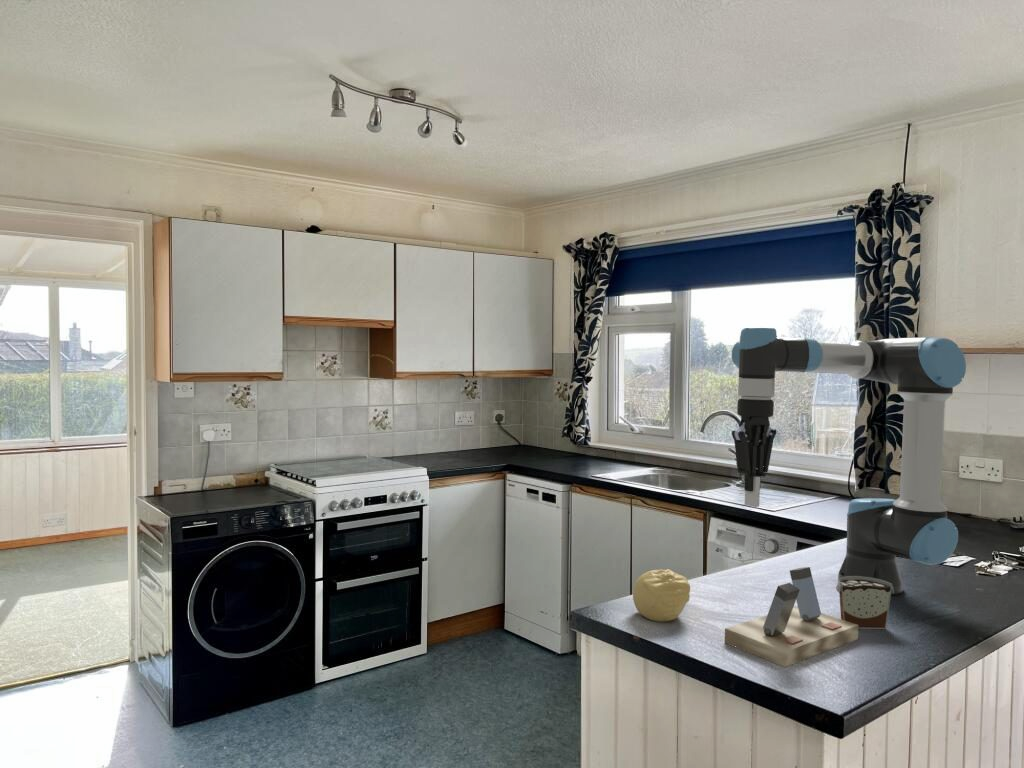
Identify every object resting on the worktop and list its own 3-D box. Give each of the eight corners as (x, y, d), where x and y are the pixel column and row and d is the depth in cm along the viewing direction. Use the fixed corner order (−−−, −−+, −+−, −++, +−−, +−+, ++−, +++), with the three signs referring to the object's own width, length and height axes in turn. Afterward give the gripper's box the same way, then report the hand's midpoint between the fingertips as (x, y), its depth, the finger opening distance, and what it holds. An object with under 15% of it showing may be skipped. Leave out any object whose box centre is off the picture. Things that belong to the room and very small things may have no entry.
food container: (877, 619, 167) (879, 575, 167) (892, 629, 161) (894, 584, 160) (824, 618, 166) (826, 574, 166) (837, 628, 160) (839, 583, 160)
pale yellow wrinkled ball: (653, 629, 157) (654, 579, 157) (623, 610, 168) (624, 564, 168) (696, 622, 162) (698, 574, 161) (664, 605, 173) (666, 560, 172)
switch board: (798, 618, 166) (798, 604, 166) (858, 639, 154) (858, 623, 154) (724, 642, 150) (725, 626, 150) (784, 667, 139) (785, 650, 139)
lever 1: (774, 627, 150) (790, 582, 147) (783, 634, 149) (800, 589, 145) (761, 631, 148) (777, 586, 145) (770, 638, 146) (787, 593, 143)
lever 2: (812, 617, 159) (800, 567, 161) (822, 617, 157) (810, 566, 159) (800, 621, 156) (788, 570, 158) (810, 621, 154) (798, 569, 156)
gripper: (759, 396, 166) (755, 499, 167) (722, 397, 159) (718, 505, 160) (788, 398, 160) (784, 505, 161) (751, 399, 153) (747, 511, 154)
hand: (751, 505), depth 160 cm, fingers closed
